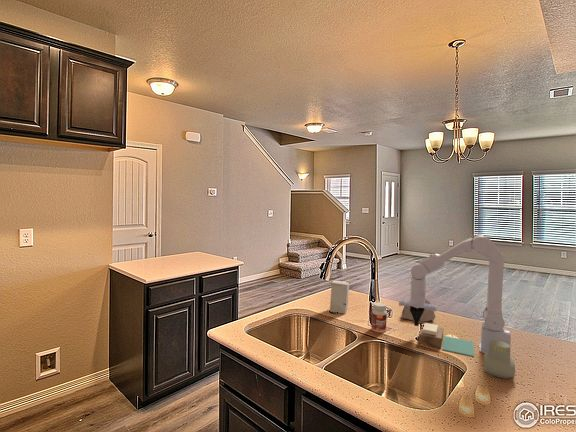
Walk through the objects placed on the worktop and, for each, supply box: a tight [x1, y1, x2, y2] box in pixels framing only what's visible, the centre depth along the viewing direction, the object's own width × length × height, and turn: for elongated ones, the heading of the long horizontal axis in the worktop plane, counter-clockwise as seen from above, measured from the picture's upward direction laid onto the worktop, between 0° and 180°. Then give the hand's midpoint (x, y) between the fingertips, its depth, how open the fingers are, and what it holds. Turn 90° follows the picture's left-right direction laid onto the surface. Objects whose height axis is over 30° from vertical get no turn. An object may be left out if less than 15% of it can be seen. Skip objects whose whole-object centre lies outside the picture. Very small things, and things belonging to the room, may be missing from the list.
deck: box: [418, 323, 444, 350], centre depth 135 cm, size 8×12×4 cm, turn 152°
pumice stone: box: [401, 298, 437, 323], centre depth 159 cm, size 15×8×10 cm, turn 73°
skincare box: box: [329, 280, 350, 315], centre depth 168 cm, size 8×6×15 cm
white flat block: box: [422, 322, 439, 335], centre depth 135 cm, size 5×8×2 cm, turn 152°
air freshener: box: [483, 341, 516, 379], centre depth 110 cm, size 11×8×10 cm
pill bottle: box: [371, 302, 388, 333], centre depth 145 cm, size 6×6×11 cm
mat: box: [441, 335, 475, 358], centre depth 130 cm, size 10×14×1 cm
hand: (416, 325), depth 138 cm, fingers closed
